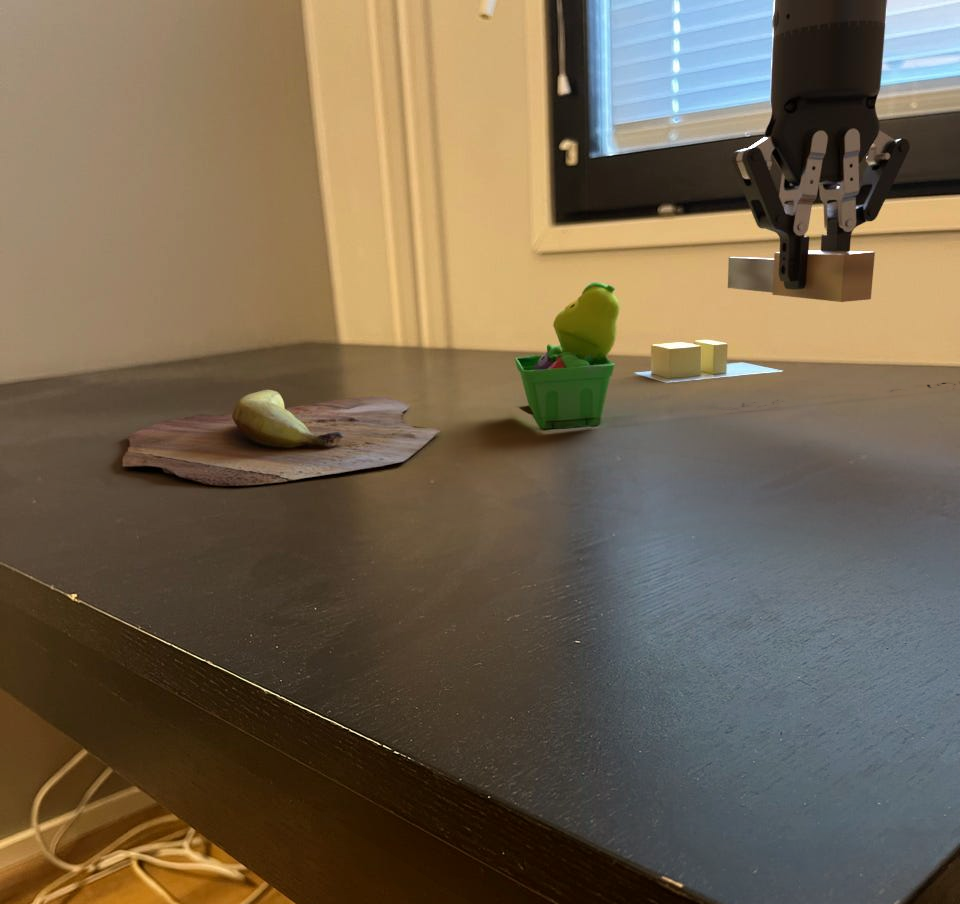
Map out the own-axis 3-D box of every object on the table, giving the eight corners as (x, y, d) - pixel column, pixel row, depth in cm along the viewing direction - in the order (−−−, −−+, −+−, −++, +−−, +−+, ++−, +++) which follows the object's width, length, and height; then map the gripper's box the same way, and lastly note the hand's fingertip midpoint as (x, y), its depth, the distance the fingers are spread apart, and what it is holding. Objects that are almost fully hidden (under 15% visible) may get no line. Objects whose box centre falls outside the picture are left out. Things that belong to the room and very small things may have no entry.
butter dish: (742, 369, 110) (742, 362, 110) (783, 378, 102) (783, 370, 101) (633, 380, 107) (632, 372, 107) (665, 390, 99) (665, 382, 99)
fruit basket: (515, 412, 92) (510, 285, 88) (609, 405, 93) (608, 278, 88) (525, 433, 82) (519, 290, 78) (631, 426, 82) (631, 283, 78)
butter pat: (706, 368, 107) (706, 339, 106) (726, 373, 102) (727, 343, 101) (693, 369, 107) (693, 340, 105) (713, 374, 102) (714, 344, 101)
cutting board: (129, 427, 99) (122, 388, 97) (395, 399, 105) (392, 362, 104) (110, 504, 67) (98, 448, 66) (490, 457, 74) (487, 406, 72)
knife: (871, 299, 71) (875, 251, 70) (841, 302, 70) (844, 254, 69) (741, 286, 89) (743, 248, 88) (717, 289, 88) (718, 250, 87)
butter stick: (681, 370, 106) (681, 341, 105) (701, 375, 102) (701, 345, 101) (650, 373, 106) (650, 344, 104) (669, 378, 101) (669, 348, 100)
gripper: (763, 18, 64) (752, 296, 71) (950, 12, 67) (923, 281, 74) (712, 40, 71) (707, 292, 78) (885, 34, 74) (865, 278, 80)
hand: (812, 286), depth 76 cm, fingers closed on knife, 2 cm apart
